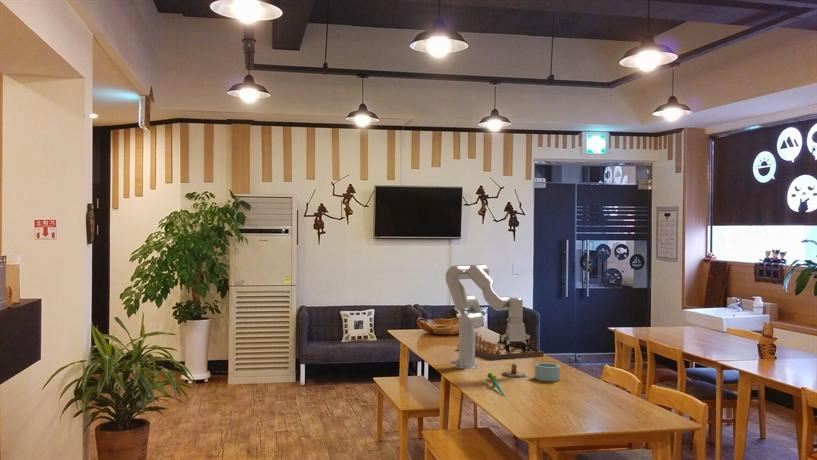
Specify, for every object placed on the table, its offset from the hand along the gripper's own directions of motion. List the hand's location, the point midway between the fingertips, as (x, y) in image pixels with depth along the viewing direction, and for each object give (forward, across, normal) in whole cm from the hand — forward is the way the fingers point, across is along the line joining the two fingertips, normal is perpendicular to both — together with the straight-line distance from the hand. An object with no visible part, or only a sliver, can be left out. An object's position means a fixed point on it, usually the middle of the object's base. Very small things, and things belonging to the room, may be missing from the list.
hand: (515, 351), depth 374 cm
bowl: (+14, +14, -11) cm, 23 cm away
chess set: (+13, +23, +68) cm, 73 cm away
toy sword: (+14, -23, -26) cm, 38 cm away
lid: (+13, 0, +1) cm, 13 cm away
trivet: (+14, 0, +1) cm, 14 cm away
